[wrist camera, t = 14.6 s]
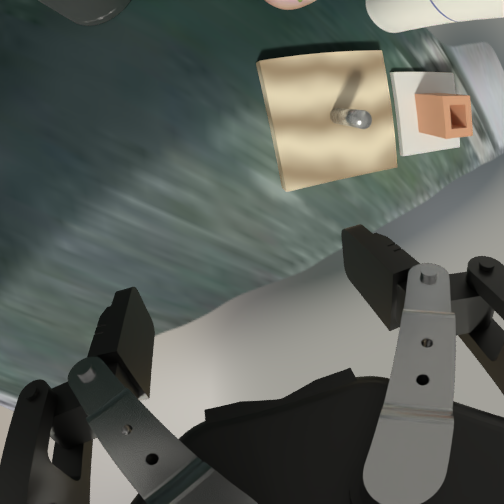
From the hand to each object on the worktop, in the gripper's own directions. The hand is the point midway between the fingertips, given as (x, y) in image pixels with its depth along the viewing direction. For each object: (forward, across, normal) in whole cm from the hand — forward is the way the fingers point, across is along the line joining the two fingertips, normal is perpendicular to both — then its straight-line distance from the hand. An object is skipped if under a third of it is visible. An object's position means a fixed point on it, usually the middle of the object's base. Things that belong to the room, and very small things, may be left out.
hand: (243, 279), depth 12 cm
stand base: (+28, -16, -2) cm, 32 cm away
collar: (+27, -32, -1) cm, 42 cm away
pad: (+28, -32, -1) cm, 43 cm away
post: (+26, -16, -2) cm, 31 cm away
